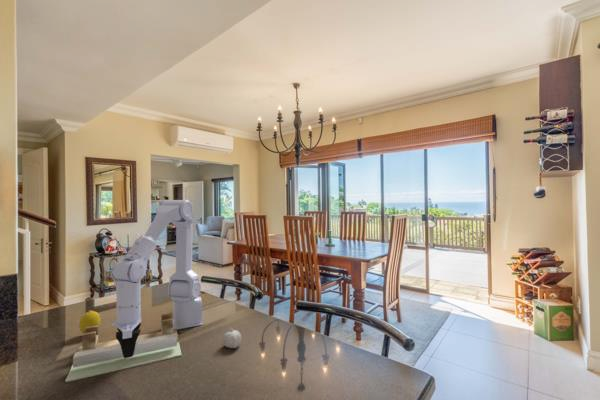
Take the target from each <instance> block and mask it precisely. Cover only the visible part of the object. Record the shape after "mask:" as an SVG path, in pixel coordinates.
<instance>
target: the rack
mask: <svg viewBox="0 0 600 400" xmlns="http://www.w3.org/2000/svg"><path fill="white" fill-rule="evenodd" d="M160 316H161V322H160V323H161V331H155V332H152V333H145V334H139V336H138V338H137V340H136V341H138V340H143V339H149V338H154V337H159V336H164V335H170V334H175V333H176V335H177V340H179V334H178V329H173V314H172V313H166V314H161V315H160ZM117 344H120V343H119V341H118V340H117V339H114V340H107V341H103V342H99V328H98V325H96V326H90V327H86V328H85V333H83V332H82V335H81V345H82V346H79V348H78V350H77V352H80V351H86V350H91V349H96V348H101V347H107V346H112V345H117Z"/></svg>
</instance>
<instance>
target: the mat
mask: <svg viewBox="0 0 600 400" xmlns="http://www.w3.org/2000/svg"><path fill="white" fill-rule="evenodd" d="M179 357H182V351H181V346H180V342H179V341H177V346H174V347H170V348H165V349H160V350H155V351H151V352H146V353H141V354H136V355H133V356H132V357H128V358H124V357H122V358H117V359H112V360H107V361H103V362H98V363H93V364H88V365H84V366H79V367H74V368H73V364H72V365H71V368H70V370H69V372H68V374H67V376H66V378H65V381H64V382H65V383H68V382H72V381H77V380H82V379H86V378H89V377H95V376H99V375H103V374H108V373H112V372H117V371H121V370H122V371H123V370H125V369H131V368H134V367H139V366H144V365H148V364H152V363H157V362H161V361H164V360H170V359H174V358H179Z"/></svg>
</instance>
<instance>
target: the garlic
mask: <svg viewBox="0 0 600 400" xmlns="http://www.w3.org/2000/svg"><path fill="white" fill-rule="evenodd" d="M241 342H242V334H241V333H240V332H239V331H238V330H236V329H233V327H229V328H228V331H227V332H225V334H224V335H223V337H222V343H223V344H224V346H225V347H226V348H228V349H236V348H237V347H238V346H239V345H240V344H241Z"/></svg>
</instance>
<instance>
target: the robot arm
mask: <svg viewBox="0 0 600 400" xmlns="http://www.w3.org/2000/svg"><path fill="white" fill-rule="evenodd" d="M194 210H195V206H194V205H193V203H192V202H191V201H190V200H189V199H174V200H173V199H161V200H160V201H159V203H158V205H157V206H156V208H155V211H156V212H155V213H156V214H155V216H154V218H153V220H152V222H151V224H150V225H149V227H148V228H147V230H146V232H145V234H144V235H143V236H139V237H138V238H136V239H135V240H134V241H133V244H132V246H131V247H130V248H129V250H128V252H127V253H126V254H125V256H124V257H123V259H121V260H119V261H117V262H115V263H114V265H113V267H112V270H111V271H110V277H111V279H112V280H113V282H114V287H115V288H116V293H115V294H116V300H115V301H116V303H115V304H116V320H114V321H112V322H111V324H110V326H111V327H116V329H117V331H116V332H115V338H116V340H118V341H119V343H120V345H121V349H122V353H123V357H124V358H128V357H132V356H133V354H134V350H135V344H136V340H137V338H138V336H139V335H141V334H140V333H141V329H140V327H141V325H142V323H141V322H142V321H143V320H142V314H141V313H142V310H141V308H142V307H141V306H142V304H141V303H142V301H141V298H142V297H141V296H142V294H141V292H142V291H141V289H142V288H141V287H142V286H141V285H142V283H141V282H142V281H141V280H142V279H143V278H144V277H145V276H146V273H147V267H148V261H149V260H150V258H151V256H152V255H153V254H154V252H155V250H156V249H157V243H156V241H157V240H158V239H159V237H160V236H161V235H162V233H163V232H164V231H165V229H166V228H167V227H168V225H169V224H171V223H172V224H173V225H174V226H175V227H176V229H175V231H176V232H175V235H176V236H175V237H176V239H175V242H176V243H175V272H174V273H173V274H171V275H170V277H169V282H168V286H167V295H168V296H169V297H170V299H171V301H173V306H172V307H173V308H172V309H173V311H172V312H173V314H172V318H173V329H177V330H183V329H188V328H192V327H198V326H202V325H203V303H202V302H203V301H202V297H201V296H199V295H200V293H201V289H202V286H201V281H200V276H199V274H198V273H196V272H195V271H193V228H194V227H193V224H194V223H195V222H194V221H195V218H194V215H195V212H194Z"/></svg>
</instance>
